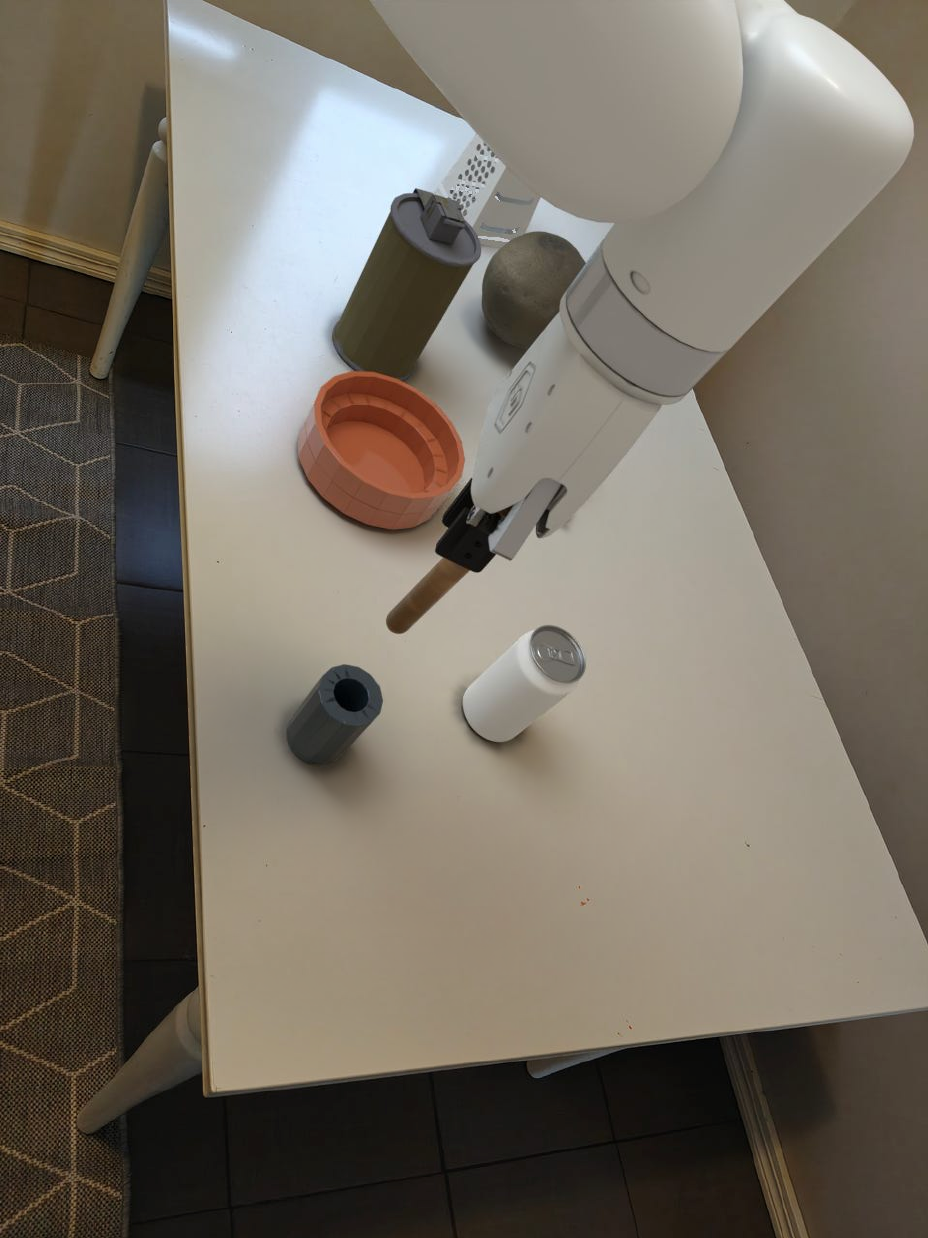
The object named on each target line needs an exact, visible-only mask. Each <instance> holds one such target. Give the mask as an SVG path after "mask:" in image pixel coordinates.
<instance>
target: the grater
mask: <svg viewBox="0 0 928 1238" xmlns="http://www.w3.org/2000/svg"><path fill="white" fill-rule="evenodd" d="M485 157H487V160H486V159H485ZM495 159H498V157H497V156H496V155H495V154H494V153H493V152H492V151H491V150H490V148H489V147H488V146H487V145H486V144H485V143H484V142H483V140H482V139H481V138H480V137H479V136H478V135H477V134H476V133H475V135H474V136H473V137H472V138H471V140H470V142H469V143H468V145H467V146H466V147H465V149H464V150H463V151H462V152H461V154H460V155H459V157H458V159H456V161H455V163H454V164H453V165H452V167H451V169H450V170H449V171H448V172H447V173H446V176H445V177H444V178H443V179H442V180H441V183H442V184H443V187H444V189H445V191H446V193H447V195H448V197H449V199H452V200H456V201H458V200H460V201H459V203H460V206H463V209H461V213H462V215H463V217H464V219H465V220H466V221H467V222H468V223H469V224H470V226H471V227H472V228H473V229H474V231H475V232H476V234H477V236H487V237H500V238H504V239H508V240H512V239H514V238H516V237H518V236H521V235H523V234H525V233H527V230H528V228H529V225H530V223H531V221H532V218H533V216H534V214H535V211H536V209H537V207H538V204H539V202H540V200H541V199H542V198H541V197H540V196H539V195H537V194H536V193H534V192H533V191H532V190H530V189H529V188H528V187H527V186H526V185H525V184H524V183H523V182H522V181H521V180H519V179H518V178H517V177H516V176H515V175H514V174H513V173H512V172H511V171H510V170H509V169H508V168H507V167H506V166H505V165H504V164H503V163H502V162H501V161H500V160H499V159H498V161H495ZM463 181H465V183H463ZM473 183H475V185H473ZM456 185H457V186H460V188H459V190H458V191H456ZM482 185H484V187H482ZM452 187H453V188H454V190H450V189H451V188H452ZM465 187H467V188H469V190H468V191H467V192H466V191H465ZM475 189H479V192H478V193H476V192H475ZM460 190H463V192H461V191H460ZM469 191H472V194H469V195H468V193H469ZM433 194H435V195H438V196H442V197H444V196H443V195H442V193H441V191H440V189H439V188H438V187H437V188H436V189H435V191H434V193H433ZM471 195H472V196H471ZM495 196H497V197H498V199H499V200H500V201H499V200H497V199H496V198H495ZM454 197H456V198H455V199H454ZM475 197H476V198H475ZM463 199H465V201H463ZM472 200H473V201H474V202H473V201H472ZM467 202H469V206H468V207H467V205H466V204H467ZM465 210H466V215H464V211H465ZM483 223H484V224H485V226H486V227H489V228H490V227H491V228H497V229H504V230H505V232H506V233H505V232H498V231H492V230H485V229H483V228H482V225H483ZM514 229H515V231H516V233H513V231H512V230H514ZM479 240H480V243H481V246H485V247H492V248H499V249H500V248H502V247H503V246H504V245H505V244H506V243H508V242H502V241H495V240H488V239H481V238H479Z"/></svg>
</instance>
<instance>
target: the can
mask: <svg viewBox="0 0 928 1238" xmlns="http://www.w3.org/2000/svg"><path fill="white" fill-rule="evenodd" d="M586 667H587V660H586V654H585V653H584V650H583V648H582V646H581V644H580V643H579V641H578V640H577V638H576V637H574V635H572V634H571V633H570V632H569V631H568V630H567V629H564V628H562V627H560V626H557V625H553V624H544V625H541V626H539V627H537V628H536V629H532V630H529V631H527V632H526V633H524V634H523V635H522V636H521V637H519V638H518V639H517V640H516V641H515V642H514V643H512V644H511V646H509V647H508V648H507V649H506V650H505V651H504V652H503V653H502V654H501V655H500V656H499V657H498V658H497V659H496V660H495V661H493V663H492V664H490V666H488V667H487V668H486V669H485V670H484V671H483V672H482V673H481V674H480V675H479V676H478V677H477V678H476V679H475V680H473V682H472V683H471V684H470V685H469V686H468V687H467V688H466V690H465V691H464V694H463V697H462V709H463V713H464V717H465V718H466V721H467V723H468V725H469V726H470V727H471V729H472V730H473V731H474V732H475V733H476V734H477V735H479V736H481V737H482V738H484V739H486V740H488V741H491V742H494V743H506V742H508V741H511V740H513V739H514V738H515V737H517V736H518V735H520V733H522V732H523V731H525V730H526V729H527V728H528V727H530V726H531V725H532V724H533V723H535V722H536V721H537V720H538V719H540V718H541V717H542V716H544V715H545V714H546V713H547V712H549V711H550V710H551V709H553V707H556V705H557V704H559V703H560V702H561V701H563V700H564V699H566V697H567V696H568V695H570V694H571V693H572V692H573V691H574V690H575V689H576V688H577V686H578V684H579V682H580V679H582V677H583V676H584V675H585V673H586Z"/></svg>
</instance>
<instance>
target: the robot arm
mask: <svg viewBox="0 0 928 1238" xmlns="http://www.w3.org/2000/svg"><path fill="white" fill-rule="evenodd" d="M369 2H370V4H371V5H372V7H373V8H374V10H375V11H376V13H378V15H379V16H380V18H381V19H382V20H383V22H384V23H385V24H386V26H387V27H388V28H389V31H390V32H391V33H392V34H393V36H394V37H395V38H396V39H397V40H398V42H399V43H400V45H401V46H402V47H403V48H404V50H406V52H407V54H408V55H409V56H410V57H411V58H412V60H413V62H415V63H416V65H417V66H418V68H420V69H421V70H422V72H423V73H424V75H426V77H427V78H428V79H429V80H430V81H431V82H432V84H433V85H435V87H436V88H437V89H438V91H439V92H440V93H441V94H442V95H443V97H444V98H445V99H446V100H447V101H448V102H449V104H450V105H451V106H452V107H453V108H454V109H455V110H456V112H457V113H458V114H459V115H460V116H461V118H463V120H464V121H465V122H466V123H467V125H469V127H470V128H471V129H472V130H473V131H474V132H475V135H476V134H477V135H478V136H479V137H480V138H481V139H482V140H483V142H484V143H485V144H486V145H487V146H488V147H489V148H490V150H491V151H492V152H493V153H494V154H495V155H496V156H497V157H498V158H497V159H498V160H500V161H501V162H502V163H503V164H504V165H505V166H506V167H507V168H508V169H509V170H510V171H511V172H512V173H513V174H514V175H515V176H516V177H517V178H518V179H519V180H521V181H522V182H523V183H524V184H525V185H526V186H527V187H528V188H529V189H530V190H532V191H533V192H534V193H536V194H537V195H539V196H540V197H541V198H540V199H543V200H544V201H546V202H547V203H549V204H550V205H551V206H553V207H554V208H556V209H559V210H561V211H562V212H565V213H567V214H569V215H572V216H574V217H576V218H579V219H583V220H586V221H590V222H591V221H592V222H594V223H604V224H605V223H606V224H612V226H611V228H610V229H609V230H608V232H607V233H606V235H605V236H604V237H603V239H602V240H601V241H600V243H599V244H598V245H597V246H596V248H595V250H594V251H593V253H592V254H591V256H590V257H589V258H588V259H587V261H585V262H586V264H585V265H584V267H583V268H582V269H581V271H580V272H579V274H578V275H577V276H576V278H575V279H574V281H573V282H572V284H571V285H570V286H569V288H568V289H567V291H566V292H565V293H564V295H563V297H562V298H561V301H560V307H559V308H560V311H559V313H558V314H557V315H556V316H555V317H554V318H553V320H552V321H551V322H550V323H549V324H548V326H547V327H546V328H545V329H544V331H543V332H542V333H541V334H540V335H539V337H538V338H537V339H536V340H535V342H534V343H533V344H532V345H531V347H530V348H527V350H526V352H525V353H524V354H523V355H522V357H521V358H520V359H519V361H518V362H517V363H516V364H515V365H514V367H513V368H512V369H511V371H510V372H509V373H508V374H507V376H506V377H505V379H504V380H503V381H501V383H500V385H499V386H498V387H497V389H496V390H495V392H494V393H493V395H492V398H491V399H490V401H489V404H488V407H487V410H486V414H485V418H484V422H483V427H482V431H481V434H480V439H479V444H478V450H477V453H476V458H475V463H474V468H473V473H472V477H470V478H469V480H468V481H467V483H466V484H465V485H464V487H463V488H462V489H461V490H460V492H459V493H458V495H457V496H456V497H455V499H453V501H452V502H451V504H450V505H449V506H448V508H447V509H446V510H445V512H444V513H443V515H442V519H441V523H442V524H443V525H444V527H446V528H447V529H446V531H445V532H444V533H443V535H442V536H441V537H440V538H439V540H438V541H437V542H436V543H435V549H434V552H435V554H436V555H437V556H439V557H441V558H445V559H447V560H449V561H452V562H454V563H456V564H458V565H460V566H462V567H464V568H466V569H468V570H470V571H469V572H473V573H481V572H482V571H483V570H484V569H486V567H487V566H488V565H489V564H490V563H491V561H492V560H493V559H494V558H495V557H496V556H498V557H500V558H503V559H505V560H506V561H508V562H509V561H510V562H511V561H512V560H513V559H515V557H516V555H517V554H518V552H520V550H521V548H522V547H523V545H524V543H525V542H526V540H527V539H528V538H529V536H530V534H531V533H532V531H533V529H534V528H535V535H536V537H537V539H545V538H548V537H550V536H552V535H553V534H555V533H556V532H557V531H558V530H560V529H561V528H562V527H563V526H564V525H565V524H566V523H567V522H568V521H570V520H571V518H573V516H574V515H575V514H576V513H577V512H578V511H579V510H580V509H581V508H582V507H583V505H585V503H586V502H587V501H588V500H589V499H590V498H591V496H593V495H594V493H595V492H596V491H598V490H597V489H599V487H600V486H601V485H602V484H603V483H604V482H605V481H606V479H607V478H608V477H609V476H610V475H611V474H612V473H613V471H614V470H615V468H616V467H617V466H618V465H619V464H620V462H621V461H622V460H623V458H624V457H625V456H627V454H628V453H629V452H630V450H631V449H632V448H633V446H634V445H635V443H636V442H637V441H638V439H639V438H640V437H641V436H642V434H643V433H644V432H645V431H646V429H647V428H648V426H649V425H650V424H651V422H652V421H653V420H654V419H655V417H656V416H657V414H658V413H659V412H660V410H661V408H662V406H670V405H674V404H677V403H680V402H681V401H683V399H684V398H685V397H686V396H687V395H688V394H689V393H690V391H692V390H693V389H694V388H695V387H696V386H697V385H698V383H700V382H701V380H702V379H703V378H704V377H705V376H707V374H709V372H710V371H711V370H712V369H713V368H714V367H715V366H716V365H717V364H718V363H719V361H720V360H721V359H722V358H723V357H724V356H725V355H726V354H727V353H728V352H729V351H730V350H731V348H732V347H733V346H734V345H735V344H736V343H737V342H738V341H739V340H740V339H741V338H742V337H743V336H744V335H745V334H746V333H747V331H749V329H751V328H752V327H753V325H755V324H756V322H757V321H758V320H759V319H761V317H762V316H763V315H764V314H765V313H766V312H767V311H768V310H769V309H770V307H771V306H773V304H774V303H775V302H777V300H778V299H779V298H780V297H781V296H782V295H783V294H784V293H785V292H786V291H787V289H789V288H790V287H791V286H792V285H793V284H794V282H795V281H796V280H797V279H798V278H799V277H800V276H801V275H802V274H803V273H804V272H805V271H806V270H807V269H808V268H809V267H810V266H811V265H812V263H813V262H815V260H816V259H817V258H819V256H820V255H821V254H822V253H823V252H824V251H825V250H826V249H827V248H828V247H829V246H830V245H831V244H832V243H833V241H835V239H836V238H837V237H838V236H839V235H840V234H841V233H842V232H843V231H844V230H845V229H846V228H847V227H848V226H849V225H850V224H851V223H852V222H853V221H854V219H856V217H857V216H858V215H859V214H861V212H862V211H863V210H864V209H865V208H866V207H867V206H868V205H869V204H870V203H871V202H872V201H873V200H874V199H875V198H876V197H877V195H878V194H879V193H880V192H881V191H882V190H883V189H884V188H885V187H886V185H887V184H888V183H889V182H890V181H891V180H892V179H893V178H894V177H895V175H896V174H897V173H898V172H899V171H900V169H901V168H902V166H903V164H904V163H905V161H906V160H907V157H908V156H909V154H910V151H911V149H912V146H913V141H914V137H915V127H914V126H915V124H914V119H913V116H912V115H911V112H910V109H909V107H908V105H907V103H906V101H905V100H904V98H903V97H902V96H901V94H900V92H898V90H897V89H896V88H895V87H894V85H893V84H892V83H891V81H890V80H889V79H888V78H887V77H886V76H885V74H884V73H882V72H881V70H880V69H878V67H876V65H875V64H874V63H873V62H872V61H871V60H870V59H869V58H867V57H866V56H865V55H864V54H863V53H862V52H861V51H860V50H859V49H857V48H856V47H855V46H854V45H852V44H851V43H850V42H849V41H848V40H846V39H845V38H843V37H842V36H841V35H840V34H838V33H837V32H835V31H833V29H831V28H829V27H828V26H826V25H825V24H823V23H821V22H820V21H818V20H816V19H814V18H812V17H808V16H805V15H802V14H799V12H797V11H796V10H795V9H794V8H793V7H792V6H791V5H790V4H788V2H786V1H785V0H369ZM503 509H507V510H509V511H510V512H509V513H508V515H507V516H506V517H505V516H503V515H501V514H499V513H497V512H498V511H501V510H503Z"/></svg>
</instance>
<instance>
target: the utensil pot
mask: <svg viewBox="0 0 928 1238" xmlns="http://www.w3.org/2000/svg"><path fill="white" fill-rule="evenodd" d="M383 703H384V699H383V694H382V690H381V687H380V685H379V684H378V682H377V681H376V679H375V678H374V677H373V675H372V674H370V673H369V672H367V671H365V670H364V669H363V668H361V667H360V666H356V665H351V664H347V663H346V664H340V665H336V666H332V667H330V668H329V669H328V670H327V671H326V672H325V673H324V674H322V675H321V677H320V678H319V680H318V681H317V682H316V683H315V685H314V686H313V687H312V689H311V690H310V691H309V693H308V694H307V695H306V697H305V698H304V699H303V700H302V702H301V704H300V705H299V706H298V708H297V709H296V710H295V711H294V713H293V714H292V716H291V717H290V720H289V721H288V724H287V727H286V740H287V743H288V746H289V747H290V750H291V751H292V752H293V754H294V755H295V756H296V757H297V758H298V759H300V760H301V761H303V762H304V763H307V764H310V765H312V766H313V765H314V766H328V765H330V764H333V763H335V762H336V761H337V760H338V759H340V758H341V757H342V755H343V754H344V753H345V752H347V750H348V749H350V747H351V746H352V745H353V744H354V743H355V741H356V740H357V739H358V738H359V737H360V736H361V735H362V734H363V733H364V732H365V731H366V730H367V728H369V726H370V725H372V723H373V722H374V721H375V720H376V719H377V717H379V716H380V714H381V712H382V707H383Z"/></svg>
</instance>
